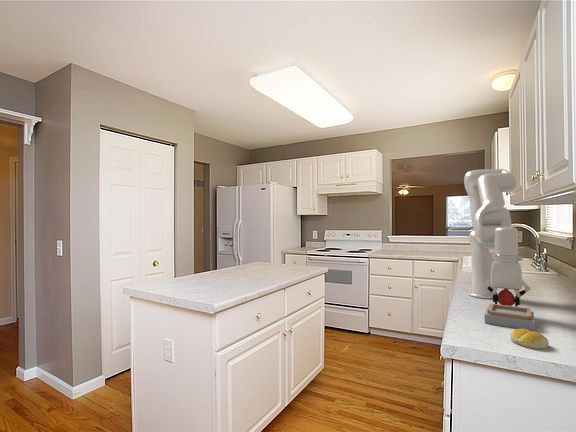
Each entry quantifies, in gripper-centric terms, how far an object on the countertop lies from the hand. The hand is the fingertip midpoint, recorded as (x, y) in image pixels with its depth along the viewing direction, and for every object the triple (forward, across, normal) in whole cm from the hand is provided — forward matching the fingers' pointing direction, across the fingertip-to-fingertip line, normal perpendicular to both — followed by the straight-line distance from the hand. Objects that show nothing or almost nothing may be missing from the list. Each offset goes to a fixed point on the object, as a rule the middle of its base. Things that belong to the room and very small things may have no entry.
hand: (506, 305), depth 126 cm
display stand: (+3, -1, +12) cm, 13 cm away
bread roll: (+2, -6, +34) cm, 34 cm away
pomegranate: (+1, 0, 0) cm, 1 cm away
